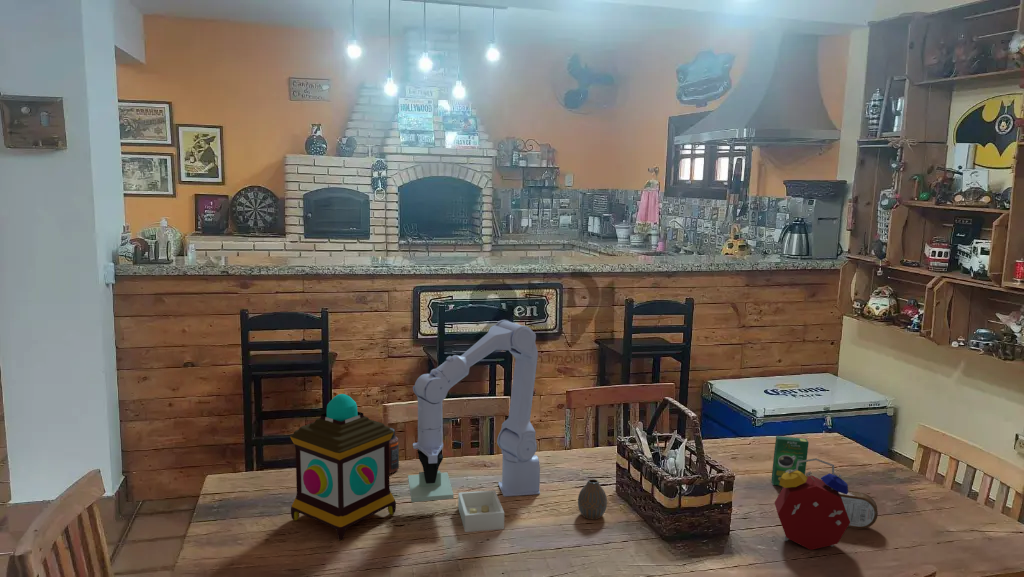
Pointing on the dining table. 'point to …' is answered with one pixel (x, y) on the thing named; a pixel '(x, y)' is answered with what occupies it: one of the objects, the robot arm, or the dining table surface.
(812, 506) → the alarm clock
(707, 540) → the dining table surface
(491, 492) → the tub
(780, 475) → the coffee box
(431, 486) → the lid
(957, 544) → the dining table surface
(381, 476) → the decorative lantern
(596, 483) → the vase
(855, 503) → the tin
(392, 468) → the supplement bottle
